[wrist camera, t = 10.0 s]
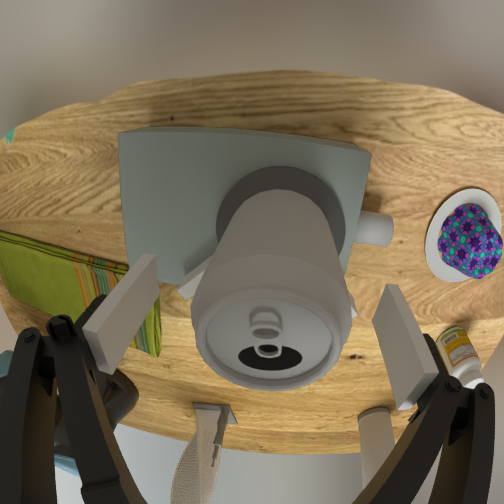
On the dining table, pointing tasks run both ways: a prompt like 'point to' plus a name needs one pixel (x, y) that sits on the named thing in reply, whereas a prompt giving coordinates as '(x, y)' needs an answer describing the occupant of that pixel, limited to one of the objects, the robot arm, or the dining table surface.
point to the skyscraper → (201, 456)
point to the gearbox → (233, 191)
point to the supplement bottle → (460, 357)
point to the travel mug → (374, 440)
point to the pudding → (465, 237)
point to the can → (273, 296)
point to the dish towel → (67, 283)
